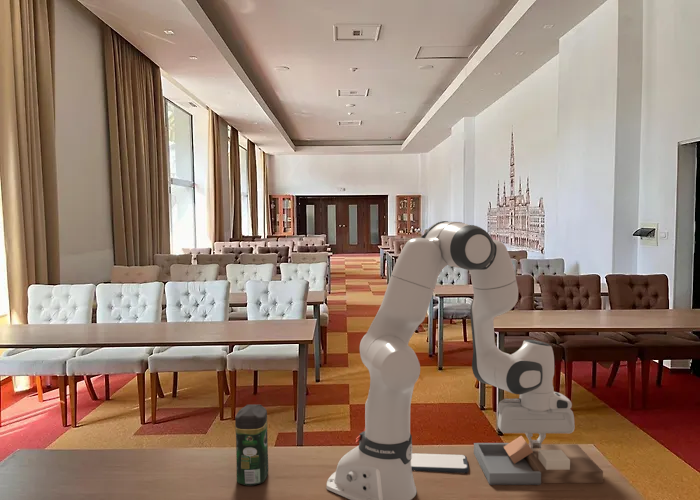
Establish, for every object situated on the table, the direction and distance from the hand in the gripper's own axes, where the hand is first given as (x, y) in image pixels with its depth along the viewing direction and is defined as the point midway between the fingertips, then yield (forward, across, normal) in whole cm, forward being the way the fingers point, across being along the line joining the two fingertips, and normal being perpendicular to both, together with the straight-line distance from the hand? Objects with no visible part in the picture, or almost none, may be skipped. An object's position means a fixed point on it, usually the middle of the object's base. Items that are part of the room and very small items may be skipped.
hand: (535, 447), depth 150 cm
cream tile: (+1, +2, -8) cm, 8 cm away
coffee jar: (+4, -76, -10) cm, 77 cm away
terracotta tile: (+2, -4, 0) cm, 4 cm away
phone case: (+5, -27, -2) cm, 27 cm away
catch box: (+4, -9, -4) cm, 10 cm away
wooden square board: (+4, +5, -4) cm, 8 cm away
